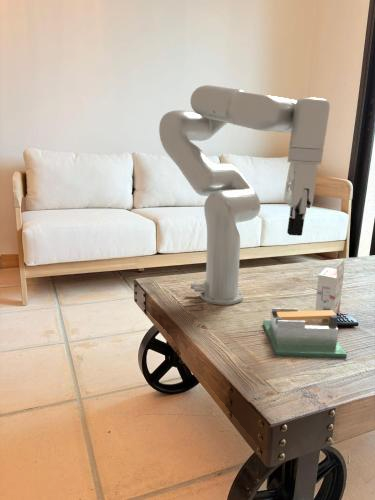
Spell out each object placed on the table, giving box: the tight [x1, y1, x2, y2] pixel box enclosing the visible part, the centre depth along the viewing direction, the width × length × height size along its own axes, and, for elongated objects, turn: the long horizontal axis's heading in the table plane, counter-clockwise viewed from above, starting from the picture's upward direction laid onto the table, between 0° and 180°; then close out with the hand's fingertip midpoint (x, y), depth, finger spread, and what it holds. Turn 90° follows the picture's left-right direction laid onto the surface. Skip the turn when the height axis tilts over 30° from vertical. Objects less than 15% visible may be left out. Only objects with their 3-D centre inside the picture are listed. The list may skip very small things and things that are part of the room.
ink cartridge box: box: [314, 259, 345, 315], centre depth 105 cm, size 9×5×15 cm, turn 148°
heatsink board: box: [262, 307, 348, 359], centre depth 90 cm, size 15×16×7 cm
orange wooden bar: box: [276, 310, 338, 320], centre depth 90 cm, size 13×3×1 cm, turn 89°
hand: (294, 234), depth 95 cm, fingers closed
